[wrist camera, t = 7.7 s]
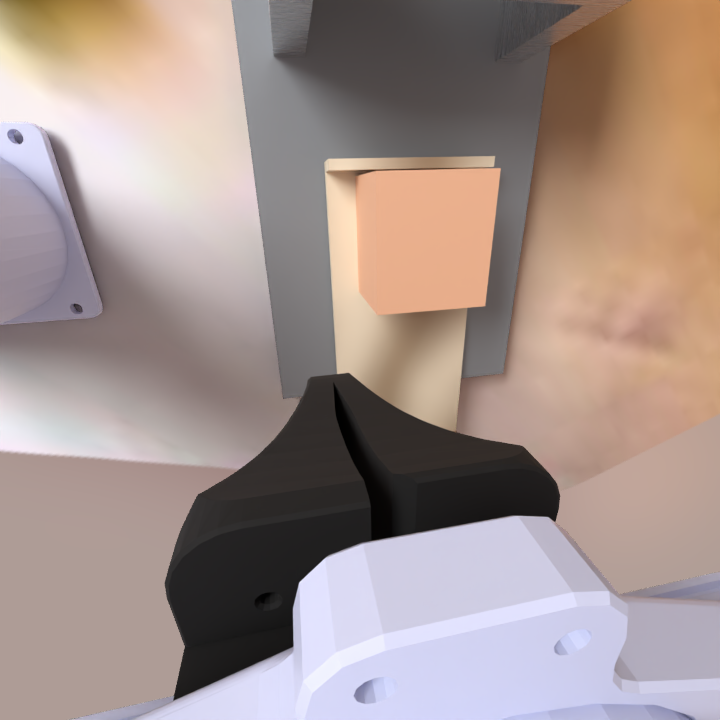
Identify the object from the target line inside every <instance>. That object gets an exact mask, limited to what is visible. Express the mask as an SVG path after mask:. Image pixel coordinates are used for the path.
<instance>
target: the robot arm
mask: <svg viewBox="0 0 720 720" xmlns="http://www.w3.org/2000/svg"><path fill="white" fill-rule="evenodd" d="M16 131H19V132H20V133H21V134H22V136H23V142H22V144H19V143H17V142H16V140H15V139H14V133H15V132H16ZM74 304H79V305H80V306H81V307H82V310H83V311H82V312H79V311H77V310H76V309H75V308H74ZM102 310H103V305H102V302H101V299H100V296H99V293H98V290H97V286H96V283H95V280H94V277H93V274H92V271H91V268H90V265H89V262H88V259H87V255H86V252H85V249H84V246H83V243H82V240H81V237H80V234H79V231H78V227H77V224H76V221H75V218H74V215H73V212H72V209H71V206H70V203H69V199H68V196H67V193H66V190H65V187H64V184H63V181H62V178H61V175H60V171H59V168H58V165H57V162H56V159H55V156H54V153H53V150H52V147H51V143H50V140H49V137H48V136H47V134H46V132H45V131H44V130H43V129H42V128H41V127H39V126H38V125H36V124H32V123H28V122H0V325H5V324H18V323H31V322H45V321H58V320H71V319H85V318H93V317H96V316H98V315H99V314H101V313H102ZM559 500H560V494H559V490H558V486H557V483H556V482H555V480H554V479H553V478H552V477H551V475H550V474H549V473H548V472H547V471H546V470H545V469H544V468H543V466H542V465H541V464H540V463H539V462H538V461H537V460H536V459H535V458H534V457H533V456H532V455H531V454H530V453H529V452H528V451H527V450H526V449H525V448H524V447H523V446H520V445H514V444H508V443H502V442H496V441H490V440H484V439H480V438H476V437H472V436H468V435H464V434H460V433H456V432H453V431H450V430H447V429H444V428H441V427H438V426H435V425H433V424H430V423H427V422H425V421H423V420H420V419H418V418H416V417H414V416H412V415H410V414H408V413H406V412H404V411H402V410H400V409H398V408H397V407H395V406H393V405H392V404H390V403H388V402H387V401H385V400H384V399H382V398H381V397H379V396H378V395H376V394H375V393H374V392H372V391H371V390H370V389H368V388H367V387H366V386H364V385H363V384H362V383H361V382H360V381H358V380H357V379H356V378H355V377H353V376H352V375H351V374H350V373H343V374H333V375H324V376H315V377H310V378H309V379H308V380H307V386H306V389H305V392H304V394H303V396H302V398H301V400H300V402H299V404H298V406H297V408H296V410H295V411H294V413H293V415H292V416H291V418H290V419H289V421H288V422H287V424H286V425H285V427H284V428H283V429H282V431H281V432H280V433H279V434H278V435H277V437H276V438H275V439H274V440H273V441H272V442H271V443H270V444H269V445H268V446H267V447H266V448H265V449H264V450H263V451H262V452H261V453H260V454H259V455H258V456H256V457H255V458H254V459H253V460H251V461H250V462H249V463H248V464H246V465H245V466H244V467H242V468H241V469H239V470H238V471H237V472H235V473H234V474H232V475H231V476H229V477H228V478H226V479H224V480H223V481H221V482H219V483H218V484H216V485H214V486H213V487H211V488H209V489H208V490H206V491H204V492H202V493H200V494H198V496H197V497H196V499H195V501H194V503H193V505H192V508H191V509H190V512H189V514H188V516H187V518H186V520H185V522H184V524H183V526H182V528H181V531H180V533H179V537H178V539H177V542H176V545H175V549H174V552H173V555H172V559H171V562H170V566H169V569H168V573H167V577H166V581H165V588H166V595H167V600H168V602H169V605H170V608H171V610H172V613H173V616H174V618H175V621H176V624H177V626H178V629H179V632H180V634H181V637H182V640H183V642H184V645H185V649H184V653H183V658H182V662H181V667H180V671H179V676H178V681H177V685H176V690H175V694H174V696H171V697H166V698H162V699H158V700H153V701H149V702H144V703H140V704H135V705H131V706H127V707H123V708H118V709H114V710H109V711H105V712H100V713H96V714H92V715H87V716H83V717H78V718H74V719H70V720H720V572H715V573H711V574H706V575H702V576H698V577H693V578H689V579H685V580H680V581H676V582H672V583H667V584H663V585H658V586H654V587H649V588H645V589H641V590H636V591H632V592H628V593H623V594H618V592H617V591H616V590H615V589H614V587H613V586H612V585H611V584H610V583H609V581H608V580H607V579H606V578H605V577H604V575H603V574H602V573H601V572H600V571H599V570H598V568H597V567H596V566H595V565H594V564H593V562H592V561H591V560H590V559H589V558H588V557H587V555H586V554H585V553H584V552H583V551H582V549H581V548H580V547H579V546H578V545H577V543H576V542H575V541H574V540H573V539H572V537H571V536H570V535H569V534H568V533H567V532H566V531H565V530H564V529H563V528H562V527H560V526H559V525H558V524H557V523H555V521H556V517H557V513H558V509H559Z"/></svg>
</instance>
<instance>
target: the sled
mask: <svg viewBox="0 0 720 720" xmlns="http://www.w3.org/2000/svg"><path fill="white" fill-rule="evenodd" d="M494 162H495V156H469V157H405V158H342V159H327V160H326V161H325V162H324V168H325V184H326V201H327V218H328V234H329V251H330V268H331V284H332V301H333V318H334V334H335V351H336V368H337V374H343V373H350V374H351V375H352V376H353V377H355V378H356V379H357V380H358V381H360V382H361V383H362V384H363V385H364V386H366V387H367V388H368V389H370V390H371V391H372V392H374V393H375V394H376V395H378V396H379V397H381V398H382V399H384V400H385V401H387V402H388V403H390V404H392V405H393V406H395V407H397V408H398V409H400V410H402V411H404V412H406V413H408V414H410V415H412V416H414V417H416V418H418V419H420V420H423V421H425V422H427V423H430V424H433V425H435V426H438V427H441V428H444V429H447V430H450V431H453V432H456V425H457V414H458V404H459V393H460V382H461V371H462V361H463V350H464V339H465V329H466V318H467V308H459V309H447V310H435V311H423V312H411V313H399V314H387V315H377V314H376V313H375V312H374V310H373V309H372V308H371V307H370V305H369V304H368V303H367V301H366V300H365V299H364V298H363V296H362V295H361V294H360V292H359V284H358V251H357V218H356V184H355V176H359V175H363V174H366V173H370V172H373V171H390V170H437V169H482V168H489V167H494ZM456 433H457V432H456Z"/></svg>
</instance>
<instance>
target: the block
mask: <svg viewBox="0 0 720 720" xmlns="http://www.w3.org/2000/svg"><path fill="white" fill-rule="evenodd" d="M500 171H501V168H484V169H437V170H390V171H373V172H370V173H366V174H363V175H359V176H355V184H356V218H357V251H358V284H359V292H360V294H361V295H362V296H363V298H364V299H365V300H366V301H367V303H368V304H369V305H370V307H371V308H372V309H373V310H374V312H375V313H376V314H377V315H387V314H399V313H411V312H423V311H435V310H447V309H459V308H471V307H483V306H485V303H486V294H487V286H488V277H489V268H490V259H491V250H492V241H493V233H494V224H495V215H496V206H497V197H498V189H499V180H500Z"/></svg>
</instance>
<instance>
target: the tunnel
mask: <svg viewBox="0 0 720 720" xmlns="http://www.w3.org/2000/svg"><path fill="white" fill-rule="evenodd" d="M500 1H501V3H500V13H499V23H498V34H497V44H496V54H495V62H512V63H521V62H523V61H525V60H526V59H528V58H530V57H532V56H533V55H535V54H537V53H539V52H541V51H542V50H544V49H546V48H548V47H549V46H551V45H553V44H555V43H556V42H558V41H560V40H562V39H564V38H565V37H567V36H569V35H571V34H572V33H574V32H576V31H578V30H579V29H581V28H583V27H585V26H587V25H588V24H590V23H592V22H594V21H595V20H597V19H599V18H601V17H602V16H604V15H606V14H608V13H610V12H611V11H613V10H615V9H617V8H618V7H620V6H622V5H624V4H625V3H627V2H629V1H631V0H500ZM312 4H313V0H268V6H269V16H270V26H271V36H272V46H273V56H290V57H305V52H306V45H307V38H308V31H309V25H310V18H311V11H312Z"/></svg>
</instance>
